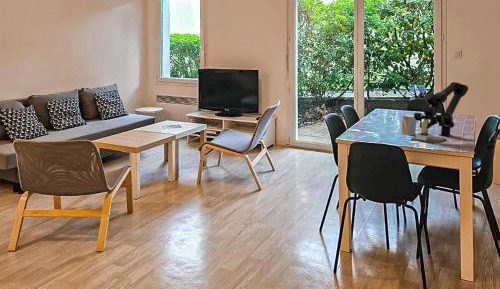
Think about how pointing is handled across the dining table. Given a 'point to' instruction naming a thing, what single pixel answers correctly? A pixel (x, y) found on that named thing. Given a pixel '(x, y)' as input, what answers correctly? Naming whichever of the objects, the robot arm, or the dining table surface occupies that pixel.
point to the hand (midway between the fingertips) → (423, 128)
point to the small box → (409, 125)
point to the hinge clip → (424, 137)
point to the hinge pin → (424, 127)
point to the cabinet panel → (432, 141)
